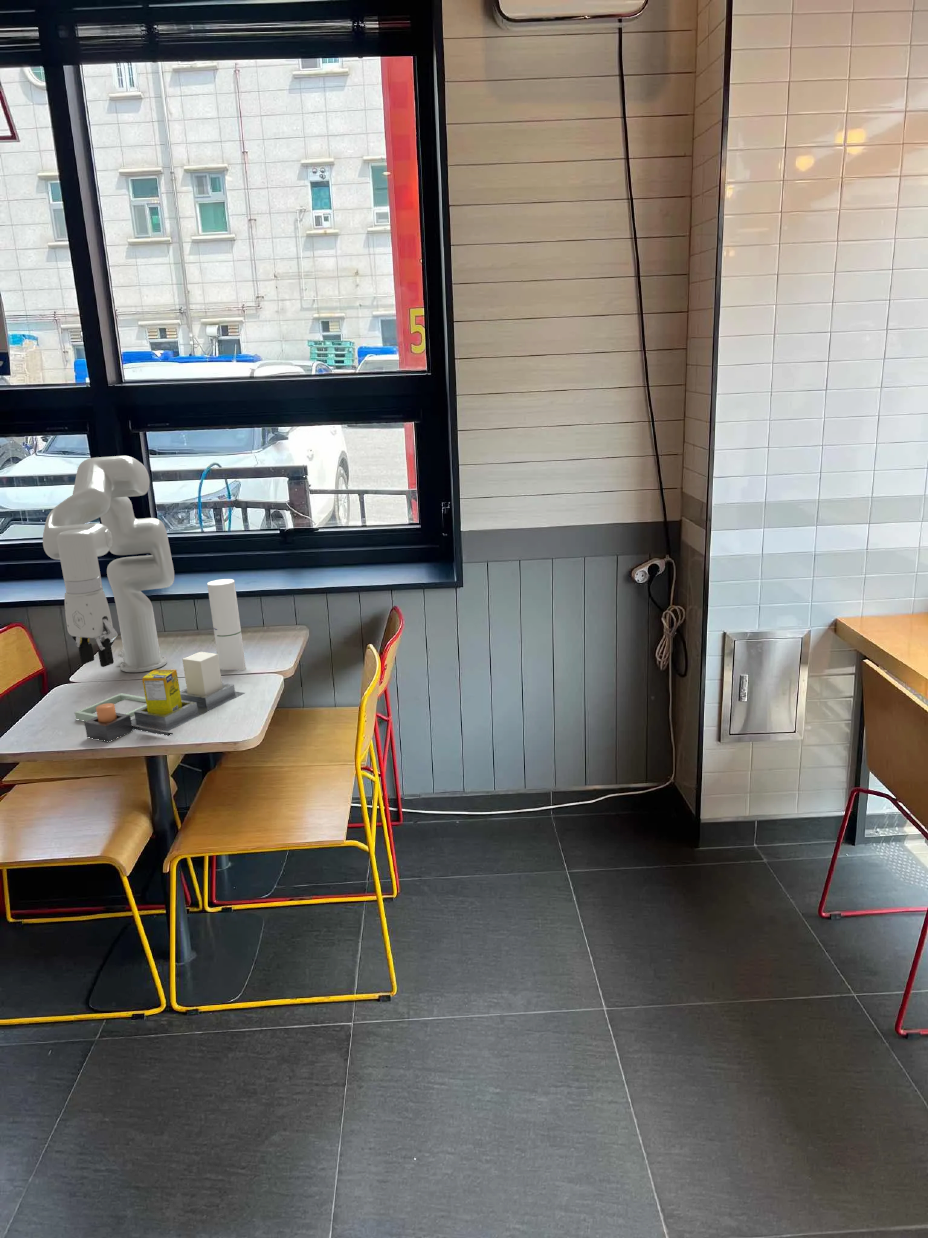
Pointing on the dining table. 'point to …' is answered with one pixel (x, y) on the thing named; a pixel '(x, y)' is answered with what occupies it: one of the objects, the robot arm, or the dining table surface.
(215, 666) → the block
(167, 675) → the supplement box
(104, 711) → the button
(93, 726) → the button housing
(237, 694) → the grey open box
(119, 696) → the frame
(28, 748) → the dining table surface
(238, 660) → the cylindrical container
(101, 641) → the robot arm
